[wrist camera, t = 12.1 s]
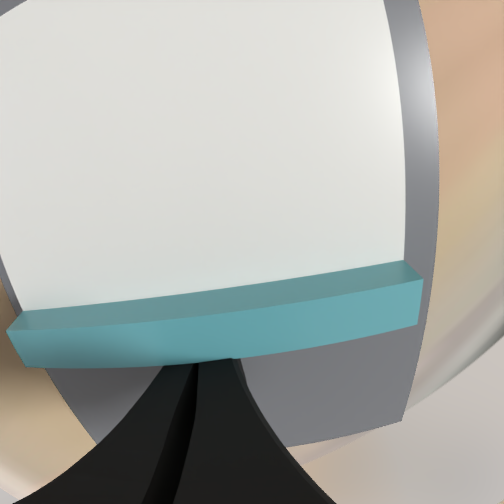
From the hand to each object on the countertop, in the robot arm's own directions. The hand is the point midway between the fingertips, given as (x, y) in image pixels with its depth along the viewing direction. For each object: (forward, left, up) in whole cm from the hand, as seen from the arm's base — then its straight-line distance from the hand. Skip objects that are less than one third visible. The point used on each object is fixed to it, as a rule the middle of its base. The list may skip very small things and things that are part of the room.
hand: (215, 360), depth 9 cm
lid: (0, +6, -1) cm, 6 cm away
